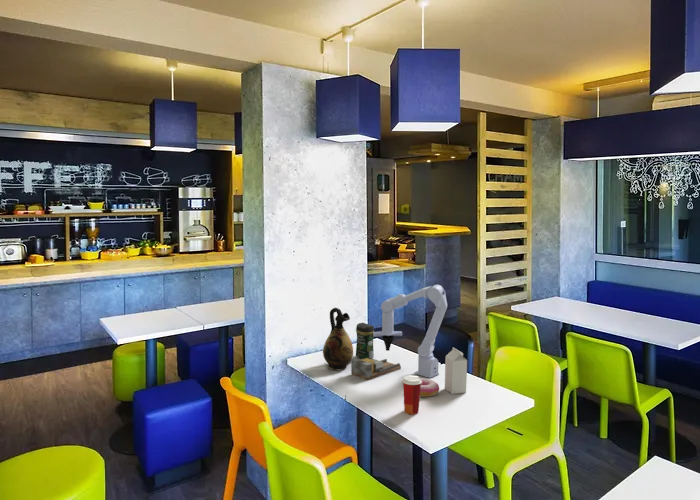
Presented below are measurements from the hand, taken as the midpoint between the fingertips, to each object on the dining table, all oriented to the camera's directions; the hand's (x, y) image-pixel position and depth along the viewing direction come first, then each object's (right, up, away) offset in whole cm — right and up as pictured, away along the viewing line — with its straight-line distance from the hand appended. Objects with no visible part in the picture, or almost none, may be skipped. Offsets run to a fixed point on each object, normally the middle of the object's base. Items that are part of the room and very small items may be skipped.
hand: (387, 350), depth 258 cm
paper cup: (+6, -15, -51) cm, 54 cm away
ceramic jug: (-25, -9, +3) cm, 27 cm away
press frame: (-6, -10, -4) cm, 12 cm away
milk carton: (+28, -13, -28) cm, 42 cm away
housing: (-11, -9, -9) cm, 17 cm away
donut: (+14, -13, -31) cm, 36 cm away
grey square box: (-7, -8, -6) cm, 12 cm away
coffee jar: (-11, -8, +18) cm, 23 cm away
